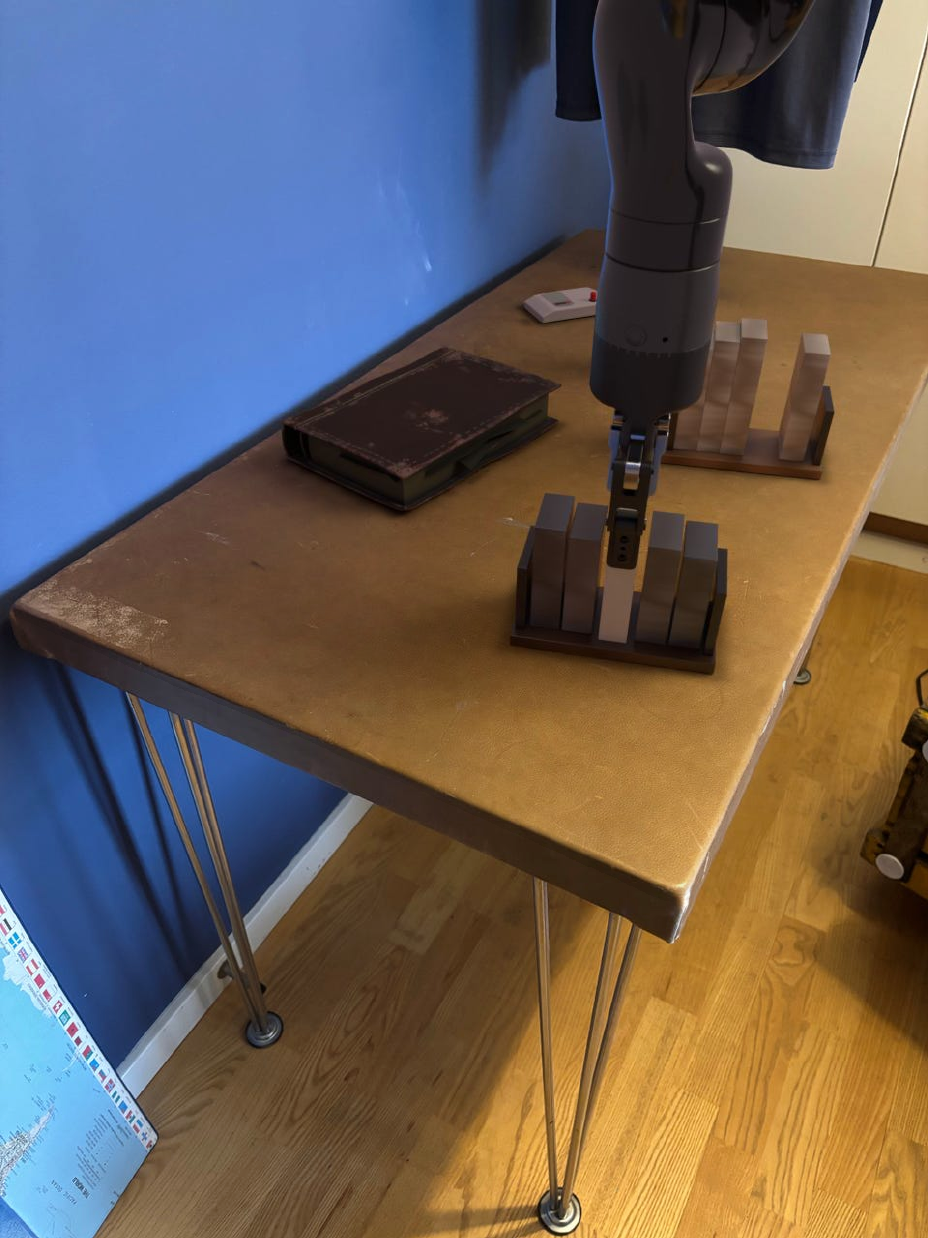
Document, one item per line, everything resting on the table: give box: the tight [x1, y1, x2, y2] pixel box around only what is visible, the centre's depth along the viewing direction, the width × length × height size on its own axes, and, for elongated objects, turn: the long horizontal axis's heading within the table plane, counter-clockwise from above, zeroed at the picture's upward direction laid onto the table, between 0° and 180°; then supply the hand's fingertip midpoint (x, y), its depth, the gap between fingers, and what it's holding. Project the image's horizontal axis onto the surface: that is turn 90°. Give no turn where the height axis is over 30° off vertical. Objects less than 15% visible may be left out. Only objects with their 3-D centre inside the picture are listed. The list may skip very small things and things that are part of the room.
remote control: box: [523, 287, 597, 324], centre depth 128 cm, size 7×16×3 cm, turn 110°
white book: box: [598, 481, 642, 643], centre depth 70 cm, size 2×6×12 cm, turn 167°
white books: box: [660, 317, 835, 480], centre depth 93 cm, size 16×8×14 cm, turn 77°
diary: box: [281, 345, 563, 511], centre depth 97 cm, size 19×25×5 cm
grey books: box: [509, 492, 729, 675], centre depth 71 cm, size 16×8×10 cm, turn 77°
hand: (625, 540), depth 69 cm, fingers closed on white book, 6 cm apart
